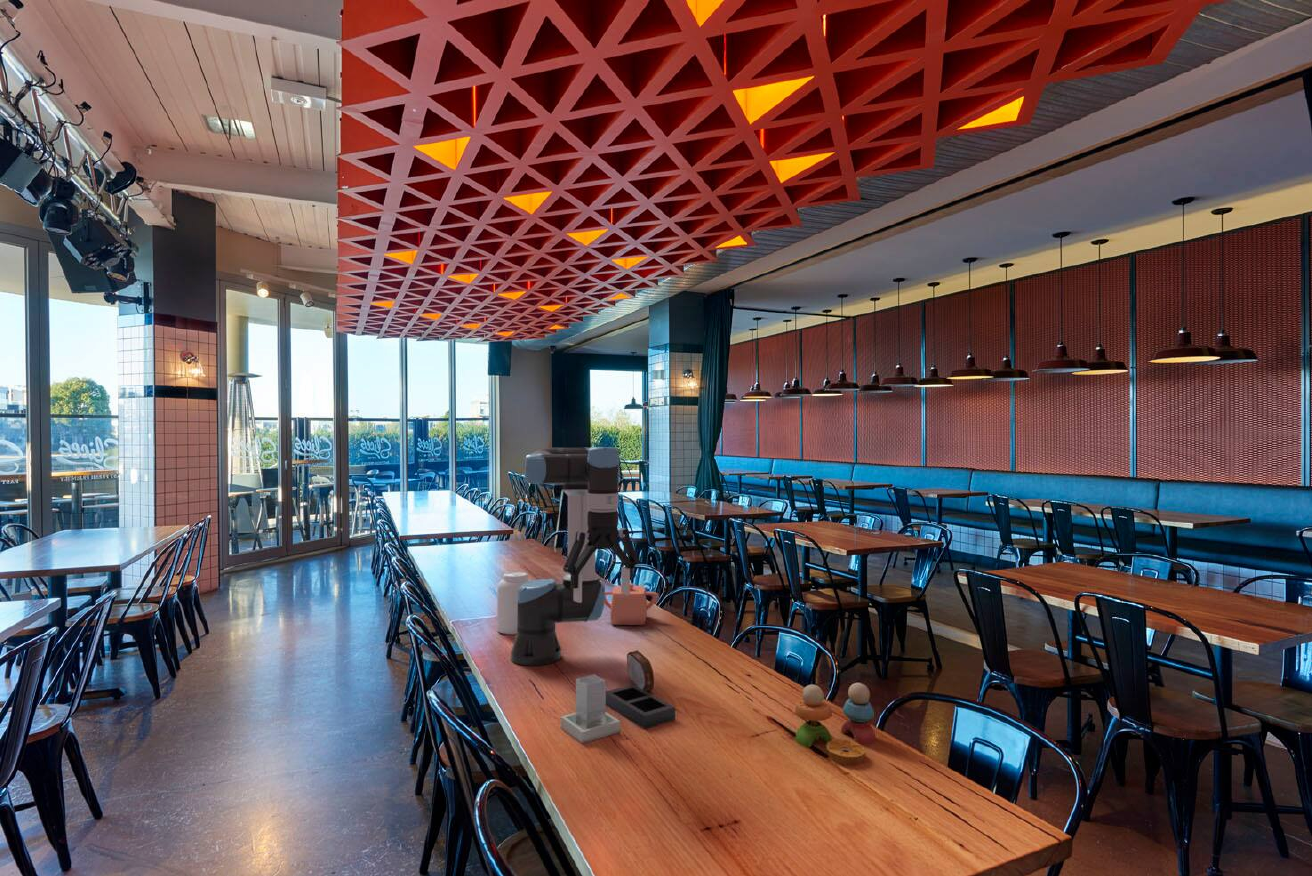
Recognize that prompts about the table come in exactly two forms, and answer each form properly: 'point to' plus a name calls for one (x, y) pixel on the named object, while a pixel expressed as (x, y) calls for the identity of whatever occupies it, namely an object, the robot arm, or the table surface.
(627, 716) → the dark rectangular frame
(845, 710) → the wooden stacking toy
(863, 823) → the table surface
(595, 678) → the grey rectangular block
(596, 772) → the table surface
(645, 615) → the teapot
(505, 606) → the white bottle
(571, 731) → the tray
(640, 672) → the tin
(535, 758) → the table surface
